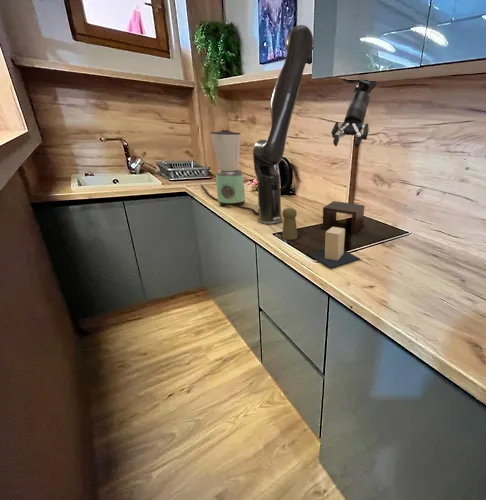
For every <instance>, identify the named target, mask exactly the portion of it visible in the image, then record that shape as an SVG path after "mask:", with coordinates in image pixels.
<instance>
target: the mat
mask: <svg viewBox="0 0 486 500" xmlns="http://www.w3.org/2000/svg"><path fill="white" fill-rule="evenodd" d="M307 255H308V256H309V257H310V258H312V259H314V260H315V261H317V262H319V263H320V264H322V265H323V266H325V267H327V268H329V269H330V270H332V269H335V268H338V267H341V266H344V265H347V264H350V263H354V262H357V261H360V258H359V257H358V256H356V255H354V254H352V253H350V252H348V251H346V250H344V254H343V255H342V256H341V257H340V258H339V260H338V261H336V260H331V259H326V258H325V249H322V250H318V251H315V252H311V253H308V254H307Z"/></svg>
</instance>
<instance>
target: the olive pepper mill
mask: <svg viewBox="0 0 486 500" xmlns="http://www.w3.org/2000/svg"><path fill="white" fill-rule="evenodd" d="M297 213H298V212H297V210H296V209H295V208H294V207H293V208H292V207H287V208H286V207H285V208H284V209H283V210H282V211H281V215H282V217H283V224H282V233H281V238H282V239H284V240H287V241H290V240H291V241H292V240H297V239H298V238H299V233H298V227H297V220H296V217H297Z"/></svg>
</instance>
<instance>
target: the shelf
mask: <svg viewBox="0 0 486 500" xmlns="http://www.w3.org/2000/svg"><path fill="white" fill-rule="evenodd" d="M337 213H338V214H346V215H351V224H350V225H351V227H350V234H353V235H355V234H356V233H357V232H359V230H360V229H361V228H362V227H363V226H364V215H365V205H364V204H357V203H350V202H344V201H335V200H333V201H332V202H330V203H327V204H326V205H324V206H323V207H322V230H323V229H324V230H328V228H330V227H332V225H333V224H335V223H336V222H337V215H338V214H337Z"/></svg>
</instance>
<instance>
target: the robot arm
mask: <svg viewBox="0 0 486 500" xmlns="http://www.w3.org/2000/svg"><path fill="white" fill-rule="evenodd" d="M284 47H285V50H286V57H285V60H284V63H283V66H282V68H281V70H280V72H279V75H278V77H277V79H276V82H275V84H274V87H273V90H272V94H271V99H270V103H269V110H270V119H271V125H270V129H269V133H268V137H267V139H259V140H257V141H256V142H255V143H254V146H253V149H252V150H253V151H252V159H253V167H254V173H255V176H256V181H257V201H258V203H257V204H258V209H257V211H256V210H255V208H251V207H248V206H244V205H243V206H242V205H240V206H239V205H231V206H233V207H236V208H240V209H245V210H249V211H252V212H253V213H254V214H255V215H256V216H258V220H259V223H261V224H265V225H274V224H275V225H276V224H280V223H281V222H282V202H281V200H282V199H281V175H280V173H279V172H278V171H277V169H276V167H275V166H277V165H278V164H280V162H281V161H282V159H283V157H284V152H285V148H286V142H287V136H288V133H289V132H288V131H289V128H290V125H291V121H292V117H293V113H294V110H295V107H296V104H297V100H298V96H299V92H300V88H301V83H302V79H303V73H304V70H305V67H306V64H308V65H310V64H311V63H312V50H313V47H314V36H313V32H312V31H311V28H309V27H308V26H307V25H304V24H298V25H296V26H294V27H293V28H292V29H291V30H290V32H289V33H288V35H287V36H286V39H285V42H284ZM338 80H339V81H340V82H342V83H344V84H345V85H346V86H347V85H348V86H351V85H352V84H354V83H356V84H355V85H354V88H353V93H352V99H351V102H350V104H349V105H348V108H347V110H346V113H345V117H344V119H343V122H342V123H339V122H337V121H336V122H335V123H334V125H333V128H332V130H331V136H332V138H333V140H332V143H333V145H334V147H338V144H339V142H340V139H341V138H344V137H345V136H355V137H356V139H355V141H354V148H355V149H357V148H358V147H360V146H361V142H362V141H363V140H364V141H366V140H367V138H368V135H369V132H370V131H369V130H370V128H369V123H365V124H364V121H365V117H366V115H367V111H368V107H369V105H370V104H369V103H370V100H371V97H370V94H371V93H372V92H374V90H375V89H376V88H377V86H378V84H379V81H378V82H376V81H368V80H346V79H338ZM363 124H364V125H363ZM362 130H363V133H361V132H360V131H362ZM200 187H201V188H202V189H203V190H204V192H205V193H206V195H207V196H209V197H210V198H211V199H212V200H215V201H216V202H218V198H216V197H214V196H213V195H211V194H210V193H209V192H208V191H207V189H206V188H205V186H204V185H202V184H201V185H200Z"/></svg>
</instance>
